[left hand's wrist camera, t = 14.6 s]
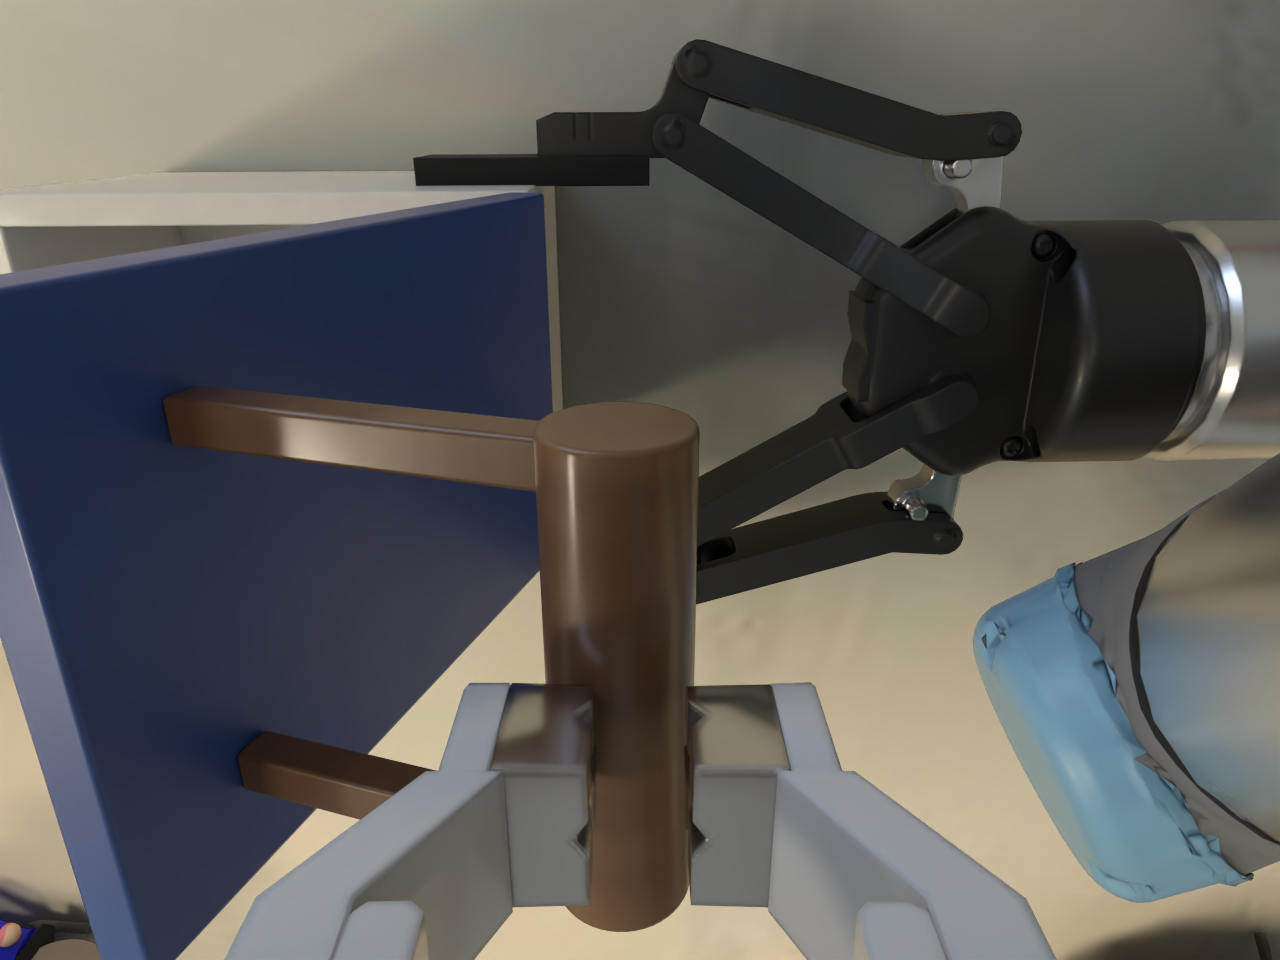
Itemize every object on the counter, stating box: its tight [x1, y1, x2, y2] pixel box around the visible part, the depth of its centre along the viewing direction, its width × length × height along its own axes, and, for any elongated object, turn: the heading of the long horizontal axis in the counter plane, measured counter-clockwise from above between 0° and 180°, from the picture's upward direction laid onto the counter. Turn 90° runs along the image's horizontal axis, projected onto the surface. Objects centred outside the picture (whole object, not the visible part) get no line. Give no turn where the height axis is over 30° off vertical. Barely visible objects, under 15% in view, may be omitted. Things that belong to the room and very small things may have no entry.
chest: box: [0, 171, 563, 412], centre depth 30 cm, size 14×10×11 cm
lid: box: [0, 192, 699, 960], centre depth 17 cm, size 15×10×8 cm
